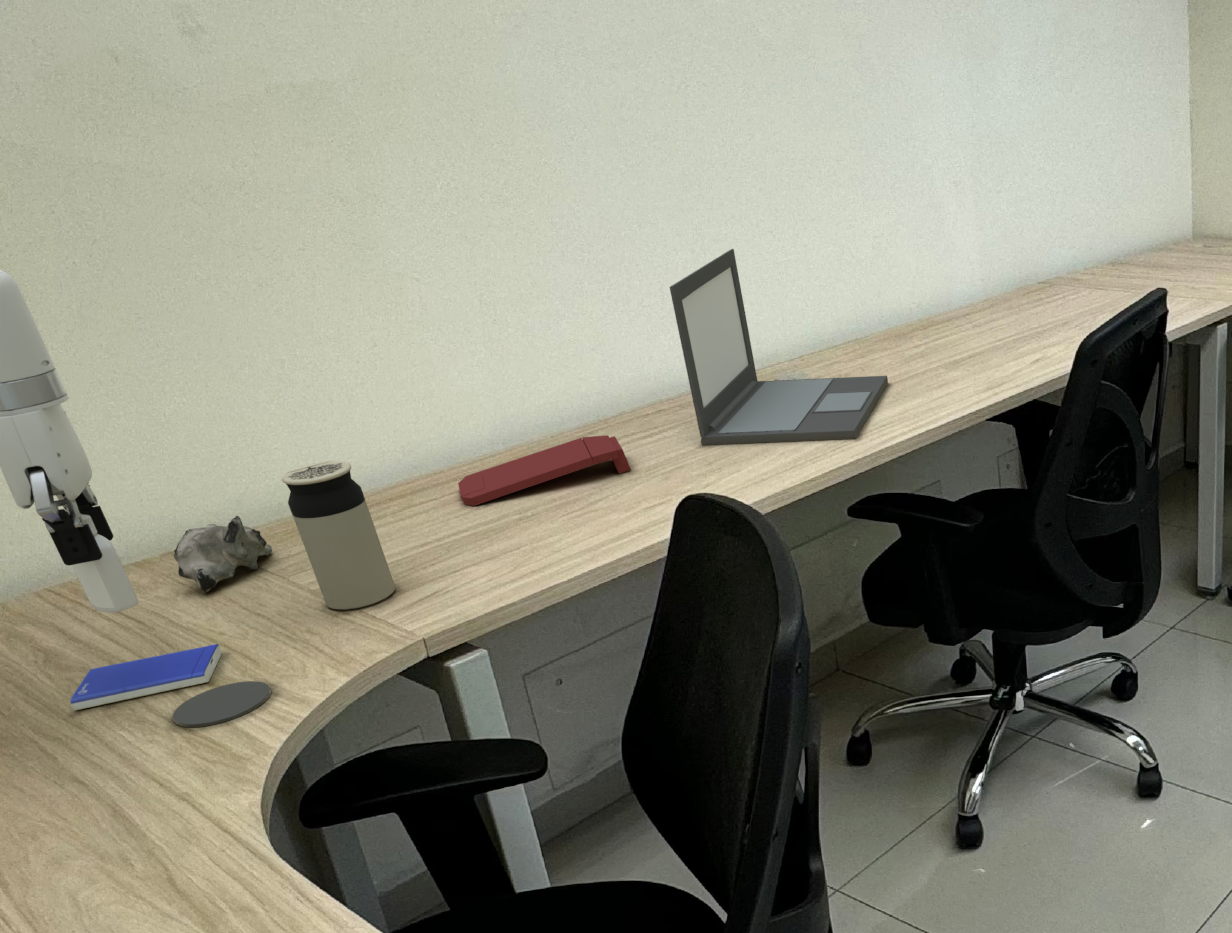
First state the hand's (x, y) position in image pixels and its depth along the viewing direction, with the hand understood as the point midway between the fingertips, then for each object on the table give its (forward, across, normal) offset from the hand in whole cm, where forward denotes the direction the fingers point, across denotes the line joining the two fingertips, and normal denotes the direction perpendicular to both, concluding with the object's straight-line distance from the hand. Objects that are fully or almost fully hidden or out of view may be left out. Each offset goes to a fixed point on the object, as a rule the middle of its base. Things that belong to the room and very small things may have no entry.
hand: (89, 550), depth 126 cm
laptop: (+17, -57, +93) cm, 110 cm away
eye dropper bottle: (+7, 0, 0) cm, 7 cm away
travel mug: (+17, -12, +21) cm, 30 cm away
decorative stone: (+17, -32, +5) cm, 37 cm away
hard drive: (+17, 0, 0) cm, 17 cm away
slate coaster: (+17, +11, +8) cm, 22 cm away
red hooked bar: (+17, -46, +47) cm, 68 cm away
